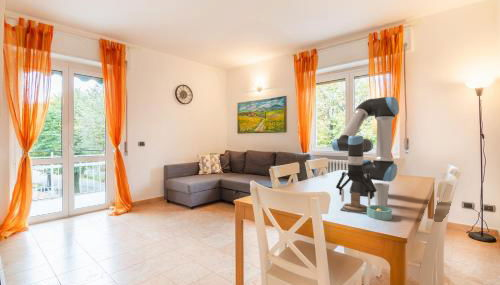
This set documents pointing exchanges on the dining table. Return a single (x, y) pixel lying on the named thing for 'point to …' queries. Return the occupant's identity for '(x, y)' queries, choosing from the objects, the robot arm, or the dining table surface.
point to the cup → (381, 194)
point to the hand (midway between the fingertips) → (355, 202)
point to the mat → (353, 211)
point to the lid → (355, 203)
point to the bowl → (379, 212)
